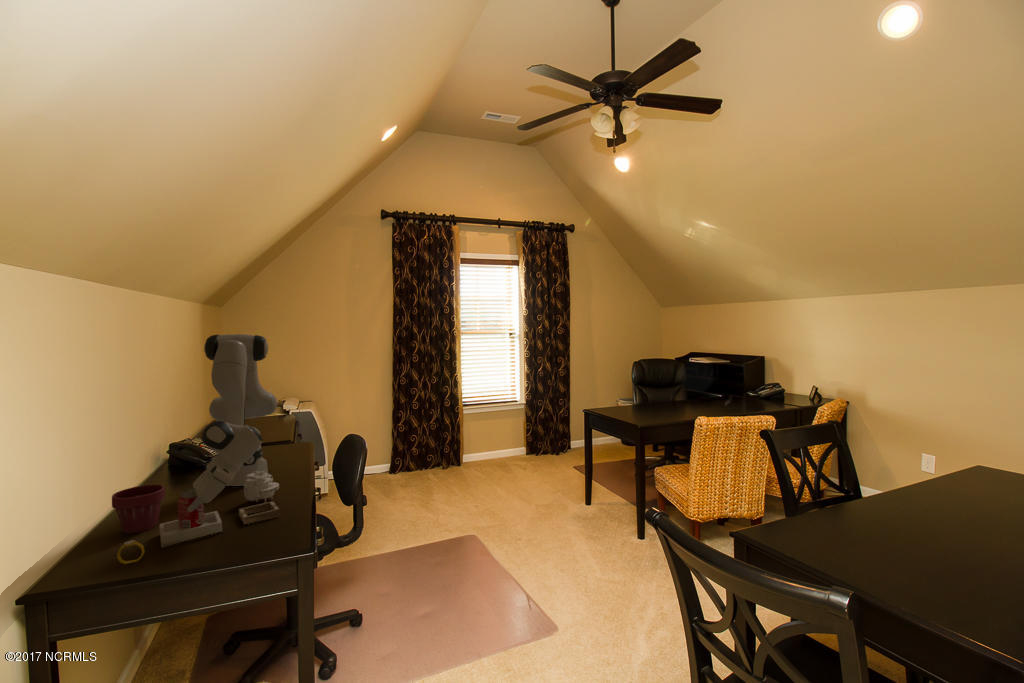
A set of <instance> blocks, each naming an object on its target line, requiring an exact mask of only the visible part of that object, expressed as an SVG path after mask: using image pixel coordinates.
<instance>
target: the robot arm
mask: <svg viewBox="0 0 1024 683" xmlns="http://www.w3.org/2000/svg"><path fill="white" fill-rule="evenodd" d="M267 341H268V340H267V338H265V337H264V336H263V335H258V334H255V335H252V334H251V335H250V334H244V333H243V334H241V333H236V334H221V335H220V334H213V335H212V334H211V335H210V336H208V337H207V338H206V340H205V343H204V348H203V351H204V354H205V357H206V358H207V359H209V360H210V361H212V362H213V363H212V368H211V383H212V387H213V388H214V389H215V390H216V392H217V393H218V395H219V396H220V397H216V398H213V400H211V402H210V405H209V408H208V409H209V410H208V411H209V414H210V416H211V417H212V419H214V420H215V421H213V422H210V423H209V424H208V425H206V427H205V428H204V429H203V431H202V433H201V441H202V443H203V445H205V446H206V447H207V448H208V449H211V450H212V451H214V452H216V453H217V454H216V455H215V456H214V457H213V459H212V460H211V461H210V462H208V464H207V465H205V468H206V469H205V470H204V471H203V473H201V474H200V475H199V476H198V477H197V478H196V479H195V480H194V482H192V486H193V488H195V493H196V495H197V498H196V499H195V501H194V502H193V503H192V504H190V505H189V506H188V507H187V510H188V511H189V512H192V511H193V510H194V509H195V508H196V507H198V506H199V505H200V504H202V502H204V504H208V503H210V502H212V501H213V499H215V498H216V497H217V496H218V495H219V494H220V493H221V492H222V491H223V490H224V488H226V487H225V486H244V483H246V480H247V475H249V474H251V473H255V471H259V473H260V472H261V471H265V472H266V473H268V476H267V477H268V478H270V477H272V478H273V475H272V474H270V473H269V472H268V464H267V463H268V462H267V460H266V459H265V458H263V456H264V455H263V454H264V453H263V448H262V445H261V444H262V443H263V436H262V435H261V433H260V432H261V431H260V430H259V429H258V428H256V427H254V426H251V425H249V424H246V423H245V422H246V419H256V418H263V417H268V416H269V415H273V414H274V413H275V411H276V410H277V408H278V399H277V397H276V396H275V395H274V394H273V393H272V392H270V391H268V390H266V389H265V388H264V387H263V386H262V385H261V384H260V381H259V375H258V362H259V361H260V362H261V361H262V360H264V359H266V357H267V355H268V352H269V344H268V342H267ZM267 477H266V478H267ZM254 481H255V479H254Z"/></svg>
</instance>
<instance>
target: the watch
mask: <svg viewBox="0 0 1024 683" xmlns="http://www.w3.org/2000/svg"><path fill="white" fill-rule="evenodd" d="M131 546H138V547H139V549H141V553H140V554H141V555H140V556H138V558H137V559H131V560H124V558H122V556H121V552H122V549H124V548H125V547H127V548H128V547H131ZM144 554H145V546H144V545H143V544H142V543H140V541H139V542H138V541H137V540H136V539H133V540H132V539H131V540H128V541H125V542H124V543H123V545H121V547H120V548H119V550H118V551H117V553H116V559H117V560H118V562H119V563H121V564H123V565H128V564H132V563H137V562H139V561H140V560H141V559H142V558H143V556H144Z"/></svg>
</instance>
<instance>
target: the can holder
mask: <svg viewBox="0 0 1024 683" xmlns="http://www.w3.org/2000/svg"><path fill="white" fill-rule="evenodd" d="M265 510H266V511H265ZM280 510H281V509H280V508H279V506H277V505H276V503H275V502H274V500H271V501H268V502H267V501H266V502H263V503H259V504H255V505H250V506H246V507H241V508H238V517H239V518H240V520H241V522H242V521H243V522H242V523H244V524H243V525H244V526H246V525H245V524H248V525H251V524H250V523H252V524H254V522H256V523H259V522H263V521H267V520H272V519H275V518H279V517H281V512H280ZM261 511H262V512H261ZM257 512H258V513H257ZM252 513H254V514H252ZM248 514H250V515H248ZM266 519H267V520H266ZM262 520H263V521H262ZM258 521H259V522H258Z"/></svg>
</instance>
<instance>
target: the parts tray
mask: <svg viewBox="0 0 1024 683" xmlns="http://www.w3.org/2000/svg"><path fill="white" fill-rule="evenodd" d="M218 532H223V522H222V519H221V517H220V514H219V512H218V510H215V511H210V512H206V513H205V512H204V522H203V524H202V525H201V526H199V527H195V528H191V529H187V530H183V529H180V528H179V523H178V519H175V520H171V521H166V522H163V523H160V524H159V536H160V547H161V549H163V548H167V546H168V547H171V546H170V545H172V546H174V545H173V544H176V543H179V542H183V541H186V540H190V539H194V538H198V537H202V536H206V535H209V534H214V533H218ZM176 545H177V544H176Z"/></svg>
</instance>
